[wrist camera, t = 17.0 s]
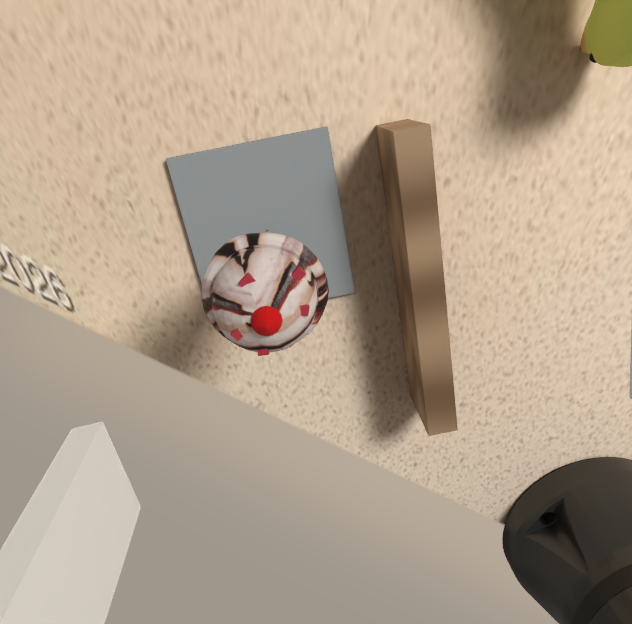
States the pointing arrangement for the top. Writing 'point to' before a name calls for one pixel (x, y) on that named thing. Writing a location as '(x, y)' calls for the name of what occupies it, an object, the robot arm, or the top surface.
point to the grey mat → (265, 199)
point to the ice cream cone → (264, 291)
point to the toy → (609, 33)
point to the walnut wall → (419, 268)
